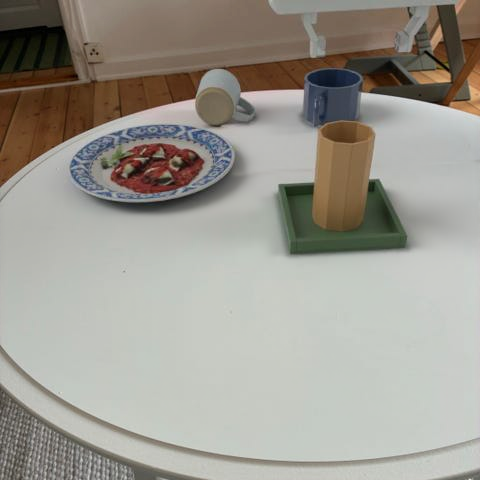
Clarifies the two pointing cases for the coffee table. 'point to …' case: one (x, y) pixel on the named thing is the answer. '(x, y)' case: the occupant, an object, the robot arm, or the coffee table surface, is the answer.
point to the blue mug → (331, 95)
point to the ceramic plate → (151, 163)
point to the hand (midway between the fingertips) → (359, 53)
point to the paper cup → (342, 174)
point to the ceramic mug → (221, 99)
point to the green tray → (320, 240)
